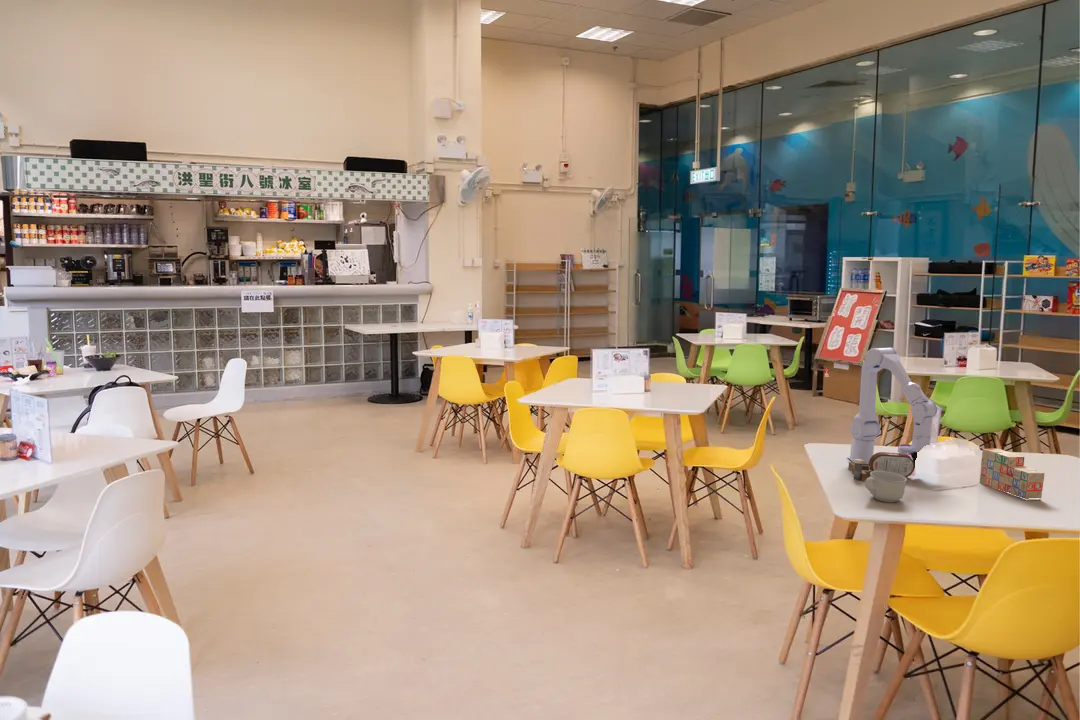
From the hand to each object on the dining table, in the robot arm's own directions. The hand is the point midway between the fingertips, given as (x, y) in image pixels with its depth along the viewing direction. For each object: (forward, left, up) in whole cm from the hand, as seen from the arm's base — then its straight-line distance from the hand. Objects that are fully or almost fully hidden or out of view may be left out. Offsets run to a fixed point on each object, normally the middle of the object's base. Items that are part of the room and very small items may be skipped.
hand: (918, 473), depth 284 cm
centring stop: (0, -20, -2) cm, 20 cm away
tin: (0, -9, -2) cm, 9 cm away
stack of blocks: (+11, +26, -2) cm, 28 cm away
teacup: (+30, -22, -2) cm, 37 cm away
